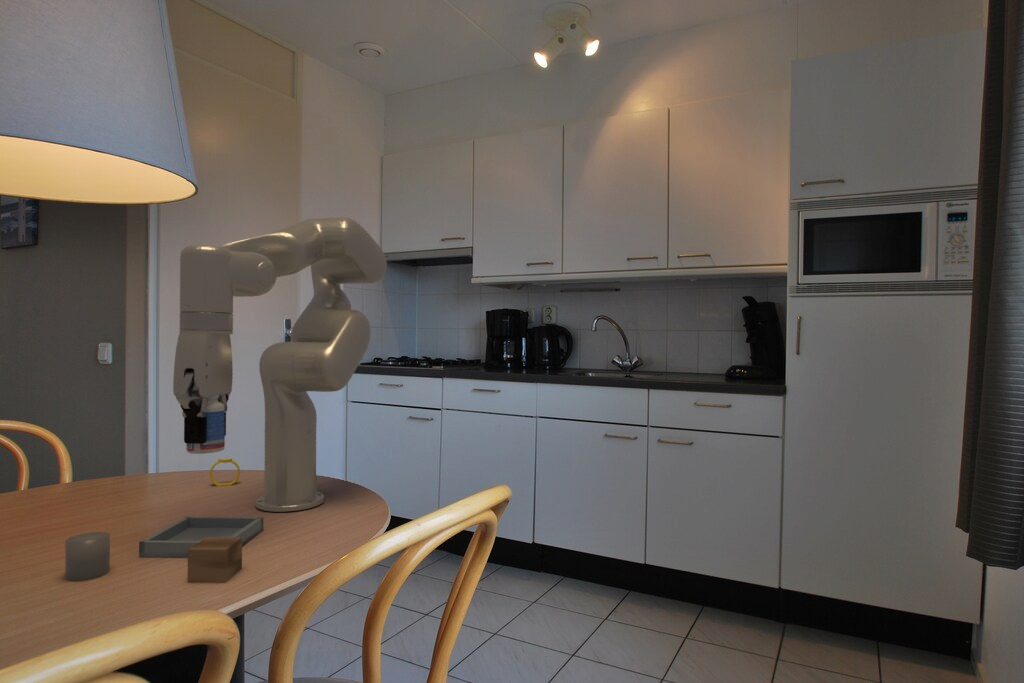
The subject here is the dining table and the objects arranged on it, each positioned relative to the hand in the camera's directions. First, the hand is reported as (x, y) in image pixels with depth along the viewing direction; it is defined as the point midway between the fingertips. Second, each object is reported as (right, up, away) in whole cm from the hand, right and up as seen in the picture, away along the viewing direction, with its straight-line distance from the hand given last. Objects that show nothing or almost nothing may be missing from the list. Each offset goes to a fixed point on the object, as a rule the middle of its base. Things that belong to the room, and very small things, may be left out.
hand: (205, 438), depth 96 cm
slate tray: (0, -16, 0) cm, 16 cm away
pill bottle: (0, -2, 0) cm, 2 cm away
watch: (-15, -16, +38) cm, 44 cm away
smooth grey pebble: (-10, -16, -13) cm, 23 cm away
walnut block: (+8, -17, -13) cm, 23 cm away
